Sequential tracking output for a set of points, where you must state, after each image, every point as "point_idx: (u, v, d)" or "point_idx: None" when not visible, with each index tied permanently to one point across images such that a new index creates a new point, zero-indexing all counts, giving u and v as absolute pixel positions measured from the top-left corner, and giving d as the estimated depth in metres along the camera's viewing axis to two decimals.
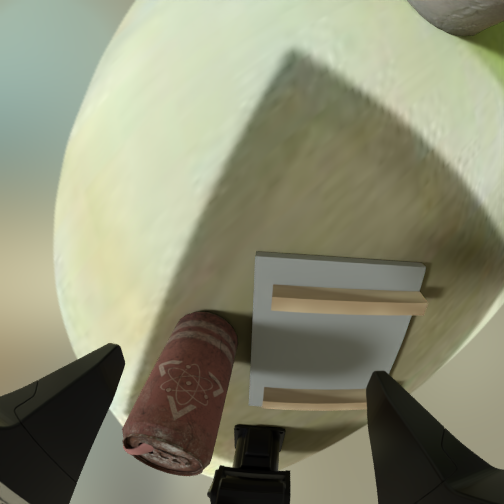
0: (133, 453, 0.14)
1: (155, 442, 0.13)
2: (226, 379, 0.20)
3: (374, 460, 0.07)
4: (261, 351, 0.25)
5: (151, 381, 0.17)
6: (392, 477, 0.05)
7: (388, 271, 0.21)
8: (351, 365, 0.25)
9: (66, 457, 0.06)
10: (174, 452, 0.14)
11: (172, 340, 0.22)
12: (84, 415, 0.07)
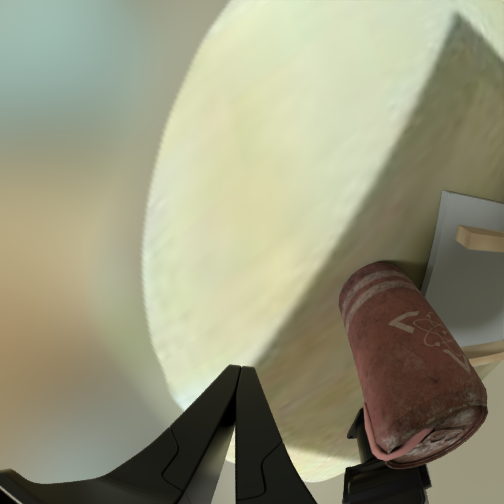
0: (398, 455, 0.09)
1: (451, 416, 0.08)
2: None
3: None
4: None
5: (399, 343, 0.12)
6: None
7: None
8: (491, 315, 0.20)
9: None
10: (460, 422, 0.08)
11: (374, 295, 0.17)
12: (220, 452, 0.06)
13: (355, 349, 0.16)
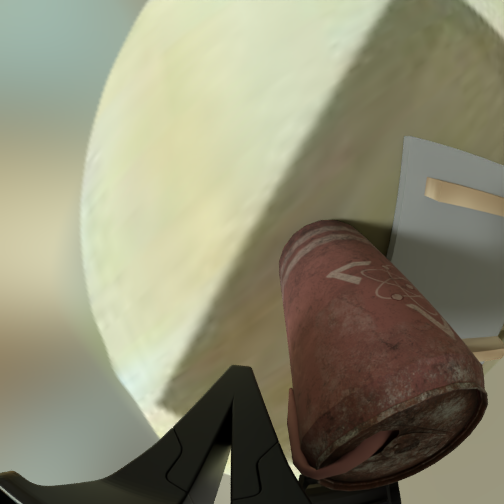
0: (336, 473, 0.06)
1: (426, 410, 0.05)
2: None
3: None
4: None
5: (338, 297, 0.09)
6: None
7: None
8: (481, 301, 0.17)
9: None
10: (442, 421, 0.05)
11: (314, 248, 0.14)
12: (223, 453, 0.06)
13: (286, 317, 0.12)
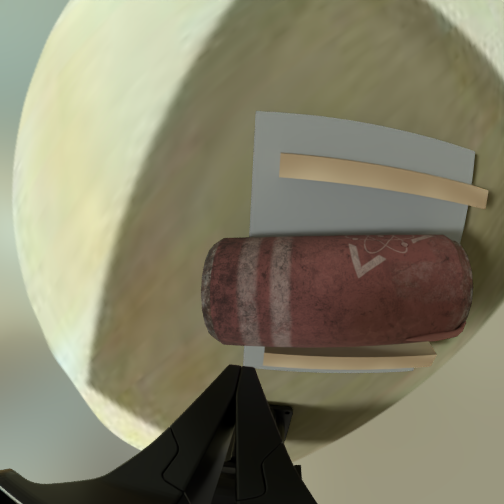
0: None
1: None
2: None
3: None
4: None
5: (393, 274, 0.12)
6: None
7: (433, 147, 0.14)
8: None
9: None
10: None
11: (290, 277, 0.13)
12: (220, 452, 0.06)
13: (336, 334, 0.13)
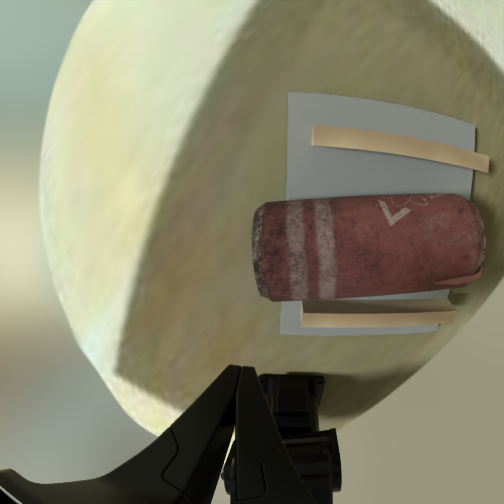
0: None
1: None
2: None
3: None
4: None
5: (419, 222, 0.13)
6: None
7: (439, 121, 0.15)
8: None
9: None
10: None
11: (333, 227, 0.14)
12: (220, 452, 0.06)
13: (376, 279, 0.14)
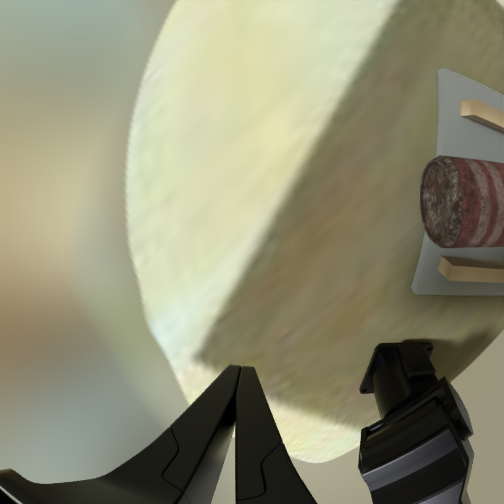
0: None
1: None
2: None
3: None
4: None
5: None
6: None
7: None
8: None
9: None
10: None
11: (502, 180, 0.12)
12: (220, 452, 0.06)
13: None
